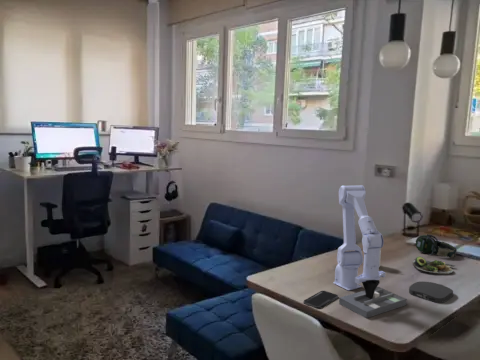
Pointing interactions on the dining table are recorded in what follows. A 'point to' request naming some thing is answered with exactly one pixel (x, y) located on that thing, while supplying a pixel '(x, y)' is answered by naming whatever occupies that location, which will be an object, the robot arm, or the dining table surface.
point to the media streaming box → (431, 291)
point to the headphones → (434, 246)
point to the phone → (320, 299)
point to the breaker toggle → (376, 295)
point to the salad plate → (431, 266)
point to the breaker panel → (372, 302)
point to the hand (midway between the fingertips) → (369, 297)
